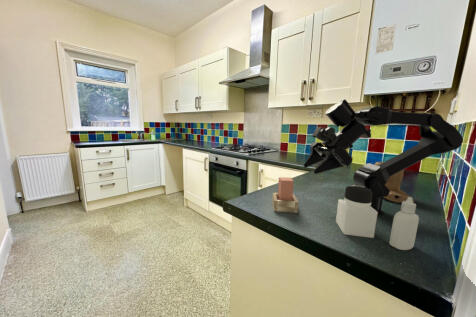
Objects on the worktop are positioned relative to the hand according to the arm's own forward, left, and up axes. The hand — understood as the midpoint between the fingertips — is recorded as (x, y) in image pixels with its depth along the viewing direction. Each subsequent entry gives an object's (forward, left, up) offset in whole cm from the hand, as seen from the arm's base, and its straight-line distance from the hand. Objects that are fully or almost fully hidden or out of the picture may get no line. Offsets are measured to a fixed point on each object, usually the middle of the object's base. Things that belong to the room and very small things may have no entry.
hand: (308, 169), depth 63 cm
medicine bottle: (-10, +13, -14) cm, 21 cm away
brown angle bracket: (-38, -17, -14) cm, 44 cm away
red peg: (+7, +1, -13) cm, 15 cm away
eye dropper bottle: (-18, +19, -14) cm, 29 cm away
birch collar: (+7, +1, -13) cm, 15 cm away
